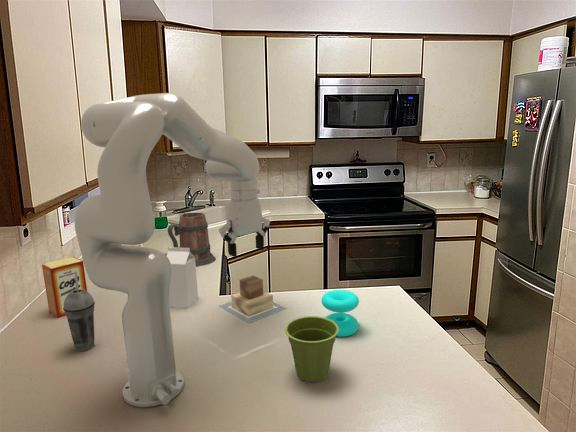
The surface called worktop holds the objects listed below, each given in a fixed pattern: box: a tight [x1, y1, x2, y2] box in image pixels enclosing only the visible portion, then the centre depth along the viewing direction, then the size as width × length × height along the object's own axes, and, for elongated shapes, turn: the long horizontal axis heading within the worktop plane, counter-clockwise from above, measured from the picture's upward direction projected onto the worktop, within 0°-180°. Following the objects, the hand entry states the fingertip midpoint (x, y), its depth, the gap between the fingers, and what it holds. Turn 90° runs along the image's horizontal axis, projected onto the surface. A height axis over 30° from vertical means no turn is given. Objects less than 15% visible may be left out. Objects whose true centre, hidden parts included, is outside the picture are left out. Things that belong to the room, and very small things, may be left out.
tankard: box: [164, 212, 217, 268], centre depth 174 cm, size 24×17×20 cm
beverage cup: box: [63, 272, 95, 352], centre depth 107 cm, size 7×7×20 cm
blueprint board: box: [219, 301, 287, 324], centre depth 129 cm, size 16×14×1 cm
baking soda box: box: [41, 256, 88, 319], centre depth 131 cm, size 10×6×16 cm
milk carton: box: [167, 246, 199, 309], centre depth 132 cm, size 7×7×19 cm
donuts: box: [321, 289, 360, 338], centre depth 114 cm, size 10×10×10 cm
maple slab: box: [230, 290, 274, 316], centre depth 128 cm, size 9×9×4 cm
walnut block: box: [239, 274, 264, 300], centre depth 127 cm, size 5×5×5 cm
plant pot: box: [284, 315, 339, 383], centre depth 94 cm, size 12×12×11 cm
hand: (246, 252), depth 125 cm, fingers open, 9 cm apart
